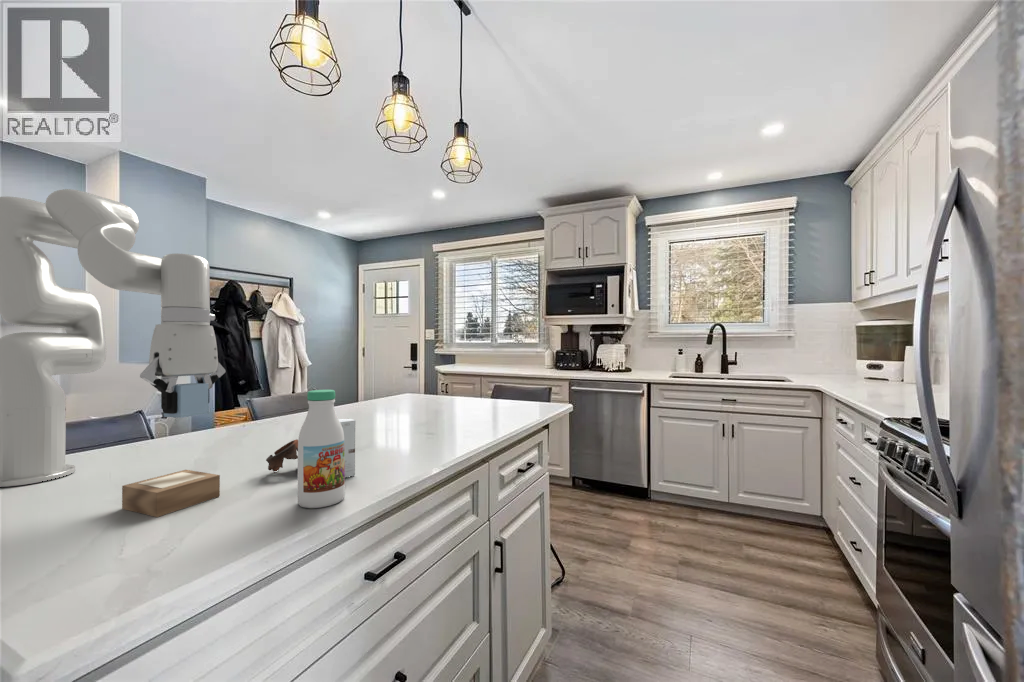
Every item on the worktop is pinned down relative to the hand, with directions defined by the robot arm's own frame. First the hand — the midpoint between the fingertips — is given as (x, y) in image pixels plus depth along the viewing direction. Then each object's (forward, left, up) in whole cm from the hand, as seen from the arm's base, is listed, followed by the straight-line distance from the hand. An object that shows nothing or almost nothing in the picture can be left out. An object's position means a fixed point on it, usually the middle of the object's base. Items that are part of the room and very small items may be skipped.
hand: (186, 410), depth 80 cm
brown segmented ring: (+10, +17, -16) cm, 25 cm away
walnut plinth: (+4, -5, -16) cm, 17 cm away
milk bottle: (+29, +5, -16) cm, 34 cm away
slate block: (0, 0, -1) cm, 1 cm away
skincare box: (+21, +17, -16) cm, 32 cm away
